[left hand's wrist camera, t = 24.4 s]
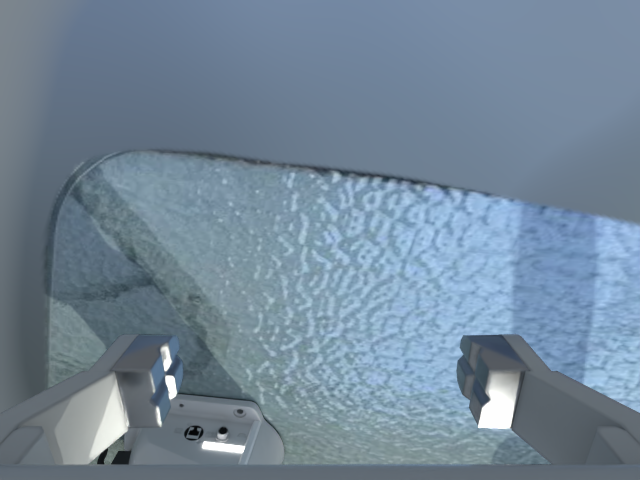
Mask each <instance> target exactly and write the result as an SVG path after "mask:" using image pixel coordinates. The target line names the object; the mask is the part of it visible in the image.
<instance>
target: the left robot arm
mask: <svg viewBox="0 0 640 480" xmlns="http://www.w3.org/2000/svg"><path fill="white" fill-rule="evenodd" d="M179 349H180V344H179V339H178V337H177V336H176V335H154V334H141V335H140V334H123V335H120V336H119V337H118V338H117V339H116V340H115V341H114V343H113V344H112V345H111V346H110V347H109V348H108V349H107V351H106V352H105V353H104V354H103V355H102V356H101V357H100V359H99V360H98V361H97V362H96V363H95V364H94V365H93V367H92V368H91V369H90V370H89V371H82V372H80V373H78V374H76V375H74V376H72V377H70V378H68V379H66V380H64V381H62V382H60V383H58V384H57V385H55V386H53V387H51V388H49V389H47V390H45V391H43V392H41V393H39V394H37V395H35V396H33V397H31V398H29V399H27V400H25V401H23V402H21V403H19V404H17V405H15V406H13V407H11V408H9V409H7V410H5V411H3V412H1V413H0V480H640V413H638V412H636V411H635V410H633V409H631V408H629V407H627V406H625V405H623V404H621V403H619V402H617V401H615V400H613V399H611V398H609V397H607V396H605V395H603V394H601V393H599V392H597V391H595V390H593V389H591V388H589V387H587V386H585V385H583V384H581V383H579V382H578V381H576V380H574V379H572V378H570V377H568V376H566V375H564V374H562V373H560V372H558V371H551V370H550V369H549V368H548V367H547V365H546V364H545V363H544V362H543V361H542V360H541V359H540V357H539V356H538V355H537V354H536V353H535V352H534V351H533V349H532V348H531V347H530V346H529V345H528V344H527V343H526V341H525V340H524V339H523V338H522V337H521V336H520V335H518V334H499V335H463V337H462V339H461V343H460V349H461V351H462V353H463V354H464V355H463V356H462V357H461V358H460V359H459V360H458V362H457V381H458V384H459V388H460V390H461V392H462V394H463V395H464V396H465V397H466V398H468V399H469V400H470V404H469V409H470V411H471V413H472V415H473V417H474V419H475V421H476V423H477V425H478V427H482V428H512V431H514V432H515V433H516V434H517V435H518V436H519V437H521V438H522V439H523V440H524V441H525V442H526V443H528V444H529V445H530V446H531V447H532V448H534V449H535V450H536V451H537V452H538V453H539V454H541V455H542V456H543V457H544V458H545V459H547V460H548V461H549V462H550V463H551V464H530V465H481V464H311V465H281V464H282V462H283V459H284V445H283V442H282V440H281V438H280V436H279V434H278V433H277V432H276V430H275V429H274V428H273V427H272V426H271V425H270V424H268V423H267V422H266V420H265V419H264V418H263V415H262V413H261V410H260V408H259V407H258V405H257V404H256V403H254V402H252V401H244V400H234V399H224V398H214V397H204V396H194V395H184V394H178V392H179V390H180V388H181V384H182V380H183V362H182V360H181V359H180V358H179V357H178V356H177V355H176V354H177V353H178V351H179ZM239 409H241V410H239ZM124 433H125V434H124ZM123 434H124V449H125V451H118V453H117V455H116V456H115V458H114V460H113V462H112V463H111V464H104V459H105V457H106V455H107V452H108V447H109V446H110V445H111V444H112V443H114V442H115V441H116V440H117V439H118V438H120V437H121V436H122V435H123ZM99 454H100V456H99V458H98V462H97V464H89V463H90V462H91V461H92V460H94V459H95V458H96V457H97V456H98V455H99Z"/></svg>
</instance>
